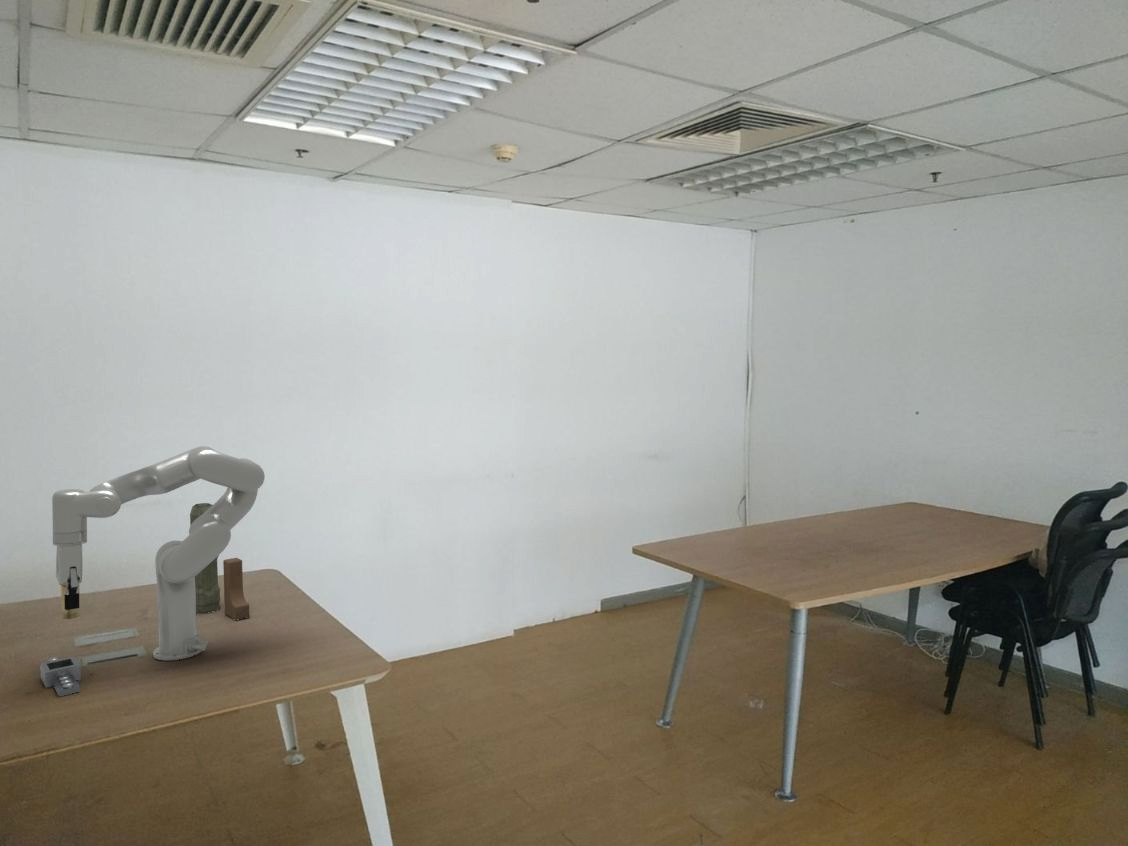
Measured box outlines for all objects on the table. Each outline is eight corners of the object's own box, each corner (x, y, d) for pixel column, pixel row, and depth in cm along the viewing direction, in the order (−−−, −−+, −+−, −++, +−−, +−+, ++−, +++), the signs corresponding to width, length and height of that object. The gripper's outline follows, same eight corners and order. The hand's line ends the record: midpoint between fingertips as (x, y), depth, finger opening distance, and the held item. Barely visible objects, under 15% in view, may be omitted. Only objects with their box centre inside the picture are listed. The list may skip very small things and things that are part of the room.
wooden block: (250, 617, 246) (248, 562, 244) (235, 621, 243) (234, 565, 241) (238, 611, 252) (236, 557, 251) (224, 614, 249) (222, 559, 248)
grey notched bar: (87, 690, 192) (86, 674, 191) (51, 698, 187) (50, 682, 186) (69, 661, 209) (69, 647, 209) (36, 669, 204) (35, 654, 204)
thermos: (198, 616, 246) (194, 508, 243) (185, 608, 255) (182, 503, 252) (226, 610, 252) (223, 505, 250) (212, 602, 261) (210, 500, 258)
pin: (86, 614, 203) (86, 577, 203) (69, 620, 198) (69, 582, 198) (71, 612, 205) (71, 575, 204) (54, 618, 200) (54, 580, 199)
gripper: (48, 533, 204) (49, 601, 205) (56, 545, 191) (57, 617, 193) (82, 530, 209) (82, 596, 210) (92, 541, 196) (92, 612, 197)
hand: (70, 605), depth 201 cm, fingers closed on pin, 4 cm apart
